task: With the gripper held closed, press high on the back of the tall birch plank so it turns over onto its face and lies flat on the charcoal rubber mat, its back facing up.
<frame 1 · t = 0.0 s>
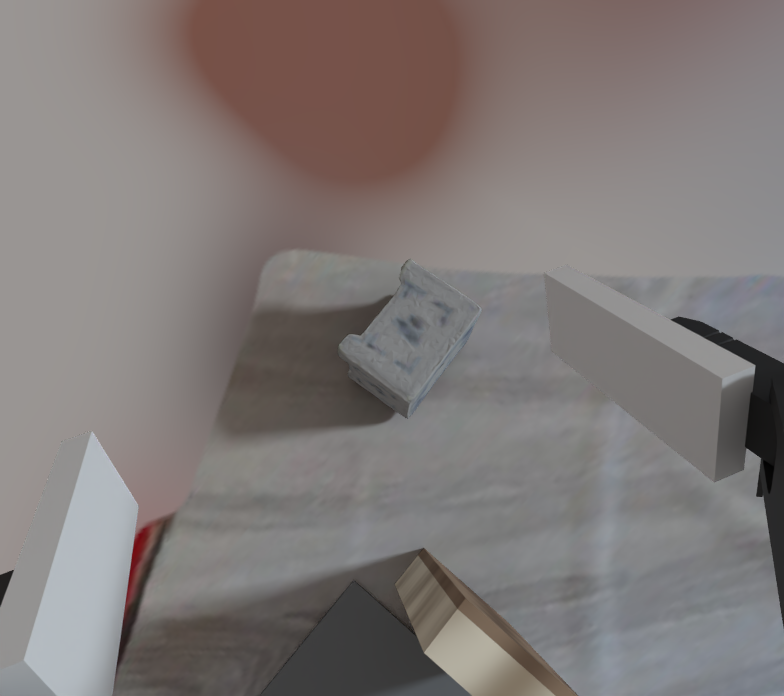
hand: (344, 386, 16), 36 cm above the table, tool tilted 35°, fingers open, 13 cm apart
incense holder: (400, 352, 53), on the table
birch plank: (452, 604, 50), on the table
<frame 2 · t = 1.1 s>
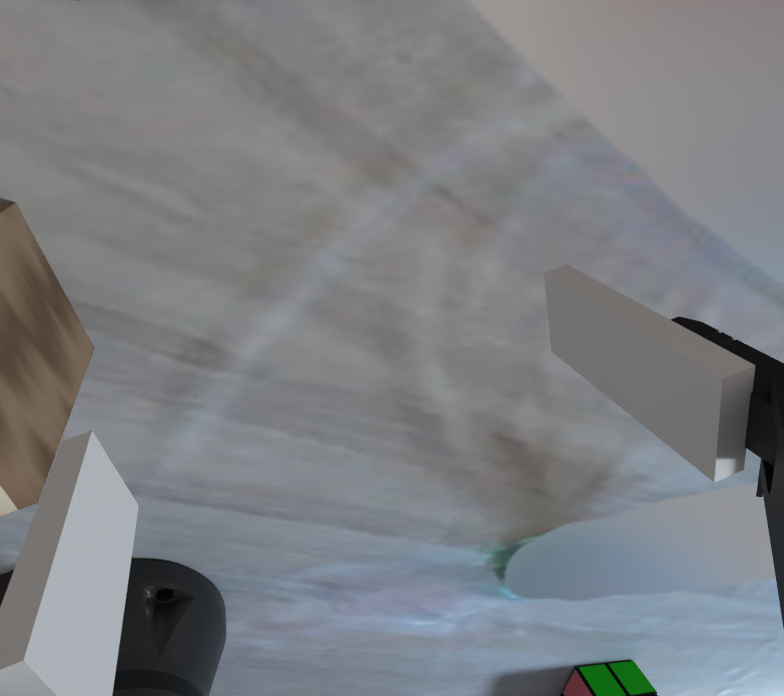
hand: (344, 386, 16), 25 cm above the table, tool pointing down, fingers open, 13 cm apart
puzzle cube: (589, 686, 76), on the table
birch plank: (24, 289, 35), on the table
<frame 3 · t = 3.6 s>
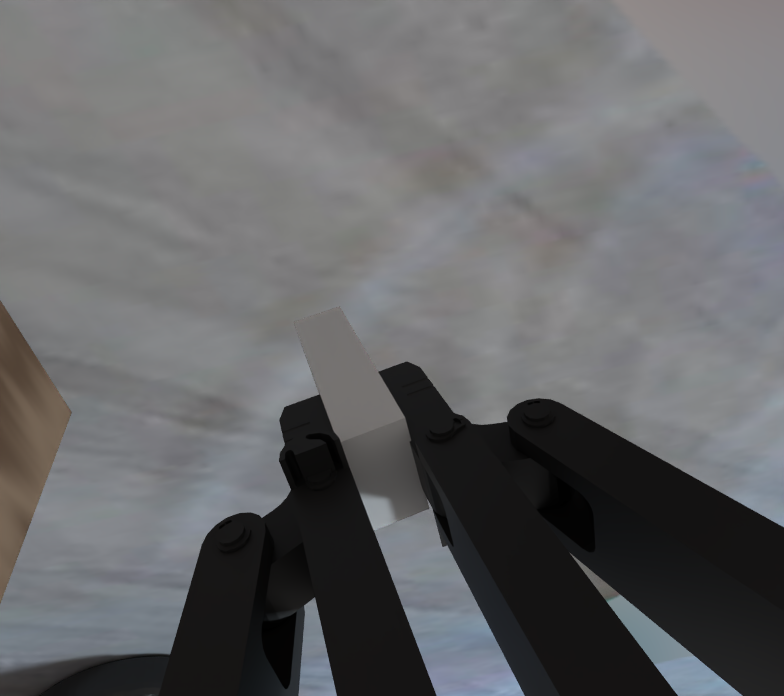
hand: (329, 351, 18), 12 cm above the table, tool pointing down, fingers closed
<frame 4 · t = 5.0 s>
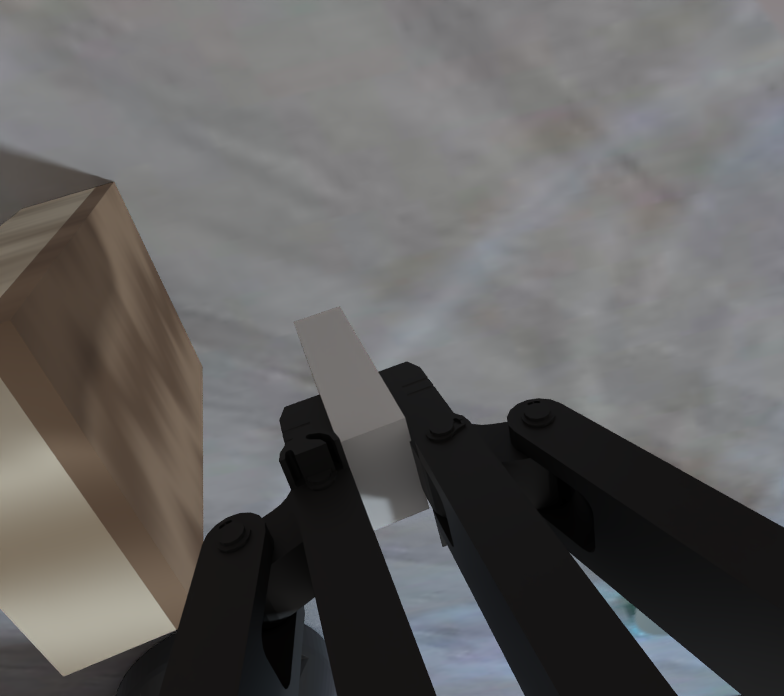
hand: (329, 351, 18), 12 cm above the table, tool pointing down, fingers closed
birch plank: (121, 295, 27), on the table
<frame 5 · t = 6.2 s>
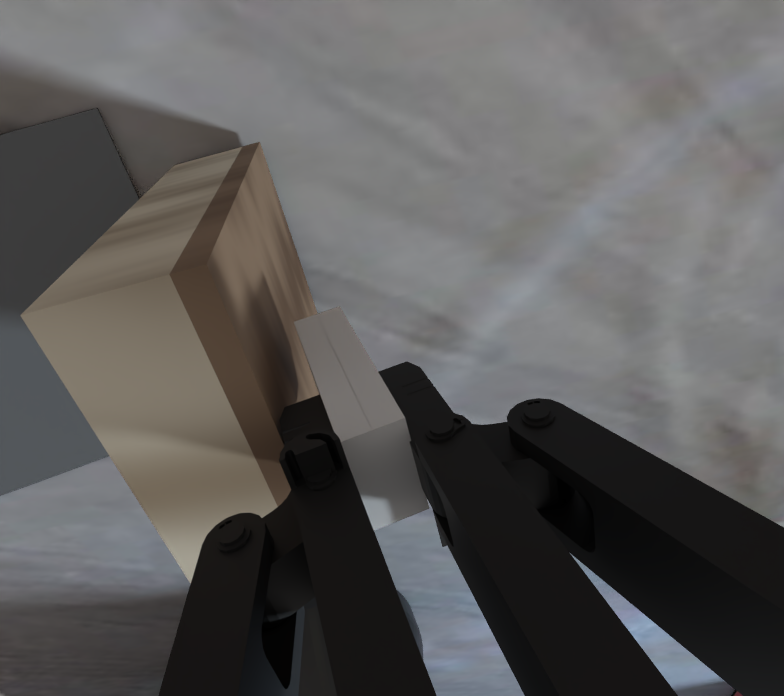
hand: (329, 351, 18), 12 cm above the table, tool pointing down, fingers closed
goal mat: (8, 333, 27), on the table
birch plank: (255, 255, 28), on the table, tilted 9°
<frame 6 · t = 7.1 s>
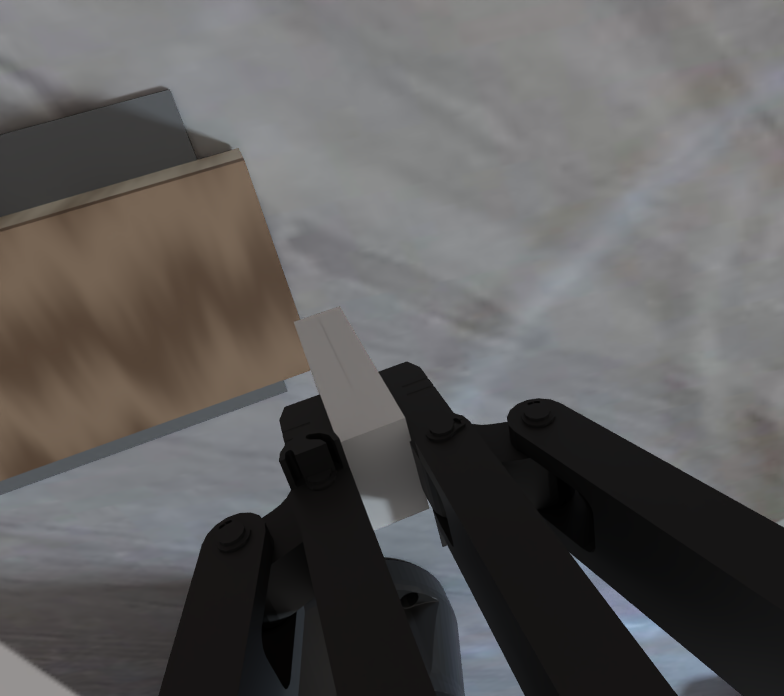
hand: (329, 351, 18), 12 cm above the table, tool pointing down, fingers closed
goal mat: (73, 312, 27), on the table
birch plank: (278, 261, 27), point 2 cm above the table, tilted 90°, touching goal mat
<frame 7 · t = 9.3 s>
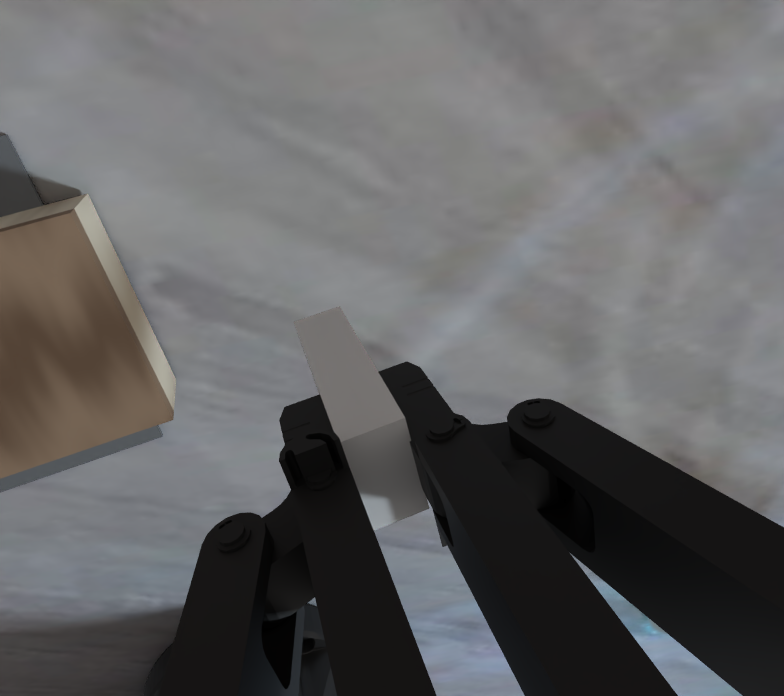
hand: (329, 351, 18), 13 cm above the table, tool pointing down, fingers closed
birch plank: (131, 309, 26), point 2 cm above the table, tilted 90°, touching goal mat
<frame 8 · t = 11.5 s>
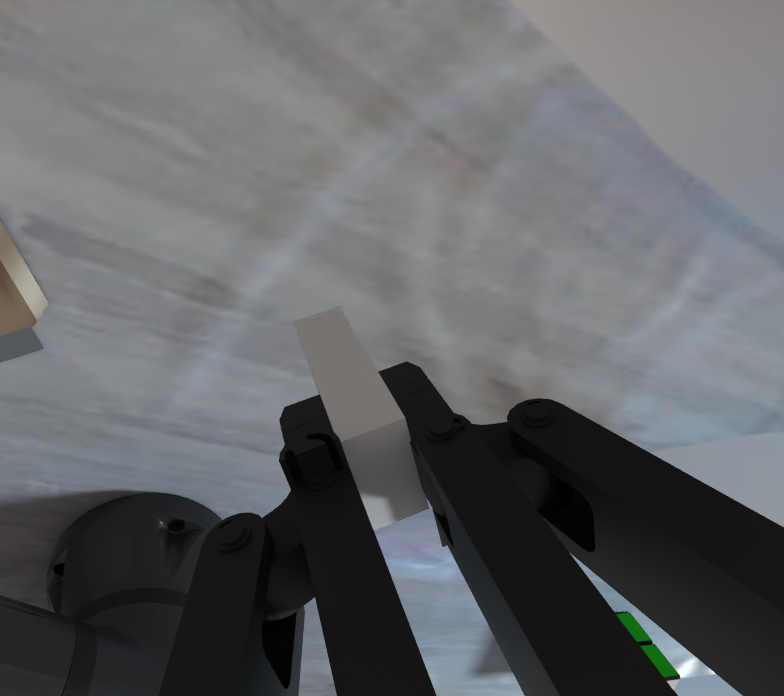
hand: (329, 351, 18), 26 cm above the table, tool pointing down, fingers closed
puzzle cube: (587, 638, 79), on the table
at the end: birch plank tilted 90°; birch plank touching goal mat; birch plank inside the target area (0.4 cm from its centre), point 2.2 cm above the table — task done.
